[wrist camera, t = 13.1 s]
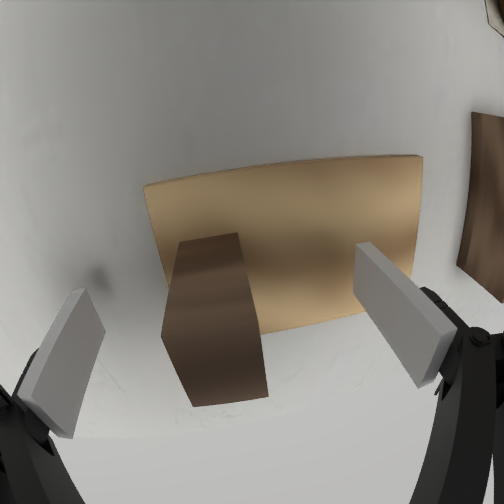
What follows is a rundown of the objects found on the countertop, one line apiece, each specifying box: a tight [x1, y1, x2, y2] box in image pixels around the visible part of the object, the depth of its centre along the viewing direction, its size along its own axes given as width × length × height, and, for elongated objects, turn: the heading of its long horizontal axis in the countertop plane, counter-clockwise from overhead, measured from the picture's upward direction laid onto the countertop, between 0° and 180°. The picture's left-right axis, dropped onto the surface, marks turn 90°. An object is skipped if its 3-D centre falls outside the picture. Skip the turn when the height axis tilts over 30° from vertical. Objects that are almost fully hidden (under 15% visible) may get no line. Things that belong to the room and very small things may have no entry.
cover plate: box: [143, 155, 423, 407], centre depth 13 cm, size 10×15×8 cm, turn 97°
